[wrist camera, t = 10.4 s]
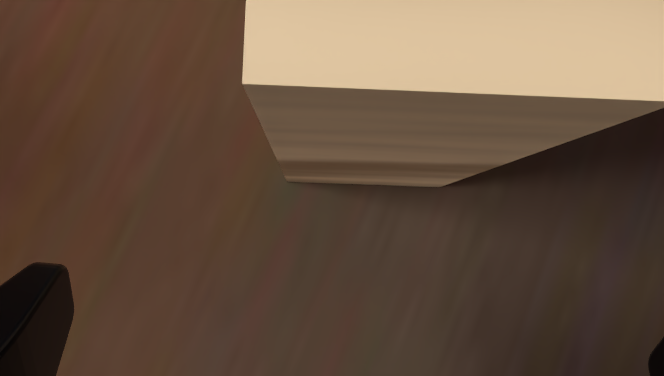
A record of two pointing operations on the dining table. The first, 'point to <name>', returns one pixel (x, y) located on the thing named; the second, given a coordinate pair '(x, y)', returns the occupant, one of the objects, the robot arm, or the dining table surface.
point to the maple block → (443, 82)
